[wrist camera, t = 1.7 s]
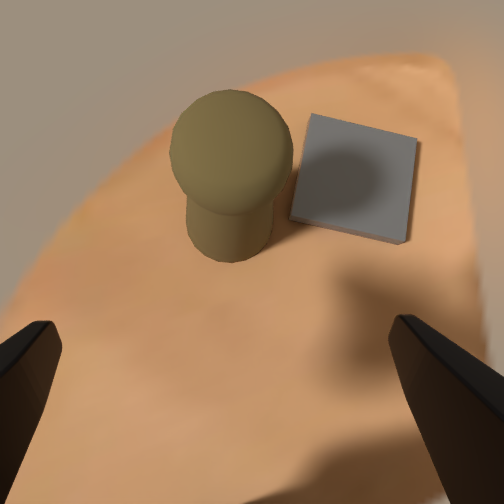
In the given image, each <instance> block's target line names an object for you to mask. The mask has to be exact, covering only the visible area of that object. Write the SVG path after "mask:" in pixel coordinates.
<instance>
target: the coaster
mask: <svg viewBox="0 0 504 504" xmlns="http://www.w3.org/2000/svg"><path fill="white" fill-rule="evenodd" d="M416 145H417V138H413V137H409V136H405V135H400V134H396V133H392V132H388V131H384V130H380V129H375V128H371V127H367V126H363V125H359V124H355V123H350V122H346V121H342V120H338V119H334V118H330V117H326V116H321V115H317V114H313V113H311V116H310V118H309V121H308V125H307V130H306V135H305V140H304V145H303V150H302V155H301V160H300V165H299V170H298V175H297V180H296V185H295V190H294V195H293V200H292V205H291V210H290V215H289V220H292V221H296V222H301V223H305V224H309V225H314V226H318V227H322V228H327V229H331V230H335V231H340V232H344V233H348V234H353V235H357V236H361V237H366V238H370V239H374V240H379V241H383V242H387V243H392V244H396V245H399V244H401V243H403V242H405V239H406V230H407V222H408V213H409V205H410V196H411V187H412V179H413V170H414V162H415V153H416Z"/></svg>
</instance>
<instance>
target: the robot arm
mask: <svg viewBox="0 0 504 504" xmlns="http://www.w3.org/2000/svg"><path fill="white" fill-rule="evenodd" d="M388 342H389V346H390V349H391V353H392V356H393V359H394V363H395V366H396V369H397V372H398V376H399V379H400V382H401V385H402V389H403V392H404V394H405V397H406V400H407V402H408V405H409V407H410V410H411V412H412V414H413V417H414V419H415V421H416V424H417V426H418V428H419V431H420V433H421V435H422V438H423V440H424V442H425V445H426V447H427V450H428V452H429V454H430V457H431V459H432V461H433V464H434V466H435V468H436V471H437V473H438V475H439V478H440V480H441V482H442V485H443V487H444V489H445V492H446V494H447V497H448V499H449V501H450V504H504V377H503V376H502V375H500V374H499V373H497V372H496V371H494V370H493V369H492V368H490V367H489V366H487V365H486V364H484V363H483V362H481V361H480V360H478V359H477V358H476V357H474V356H473V355H471V354H470V353H468V352H467V351H465V350H464V349H462V348H461V347H460V346H458V345H457V344H455V343H454V342H452V341H451V340H449V339H448V338H447V337H445V336H444V335H442V334H441V333H439V332H438V331H436V330H435V329H433V328H432V327H431V326H429V325H428V324H426V323H425V322H423V321H422V320H420V319H419V318H417V317H416V316H414V315H412V314H399V315H397V316H396V317H395V319H394V322H393V325H392V327H391V330H390V333H389V336H388ZM61 352H62V342H61V339H60V337H59V334H58V331H57V329H56V326H55V324H54V323H53V322H52V321H34V322H32V323H30V324H29V325H27V326H26V327H25V328H23V329H22V330H20V331H19V332H17V333H16V334H14V335H13V336H11V337H10V338H9V339H7V340H6V341H4V342H3V343H1V344H0V504H5V501H6V499H7V496H8V494H9V492H10V489H11V487H12V485H13V482H14V480H15V478H16V475H17V473H18V470H19V468H20V466H21V463H22V461H23V459H24V456H25V454H26V452H27V449H28V447H29V444H30V442H31V440H32V437H33V435H34V433H35V430H36V428H37V426H38V423H39V421H40V418H41V416H42V413H43V411H44V408H45V405H46V402H47V399H48V396H49V392H50V389H51V386H52V382H53V379H54V376H55V372H56V369H57V366H58V362H59V359H60V356H61Z"/></svg>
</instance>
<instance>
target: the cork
mask: <svg viewBox="0 0 504 504" xmlns="http://www.w3.org/2000/svg"><path fill="white" fill-rule="evenodd" d="M169 155H170V160H171V165H172V171H173V173H174V176H175V178H176V180H177V182H178V183H179V185H180V187H181V188H182V190H183V192H184V193H185V194H186V195H187V207H186V225H187V231H188V235H189V237H190V239H191V240H192V242H193V244H194V246H195V247H196V248H197V249H198V250H199V251H200V252H202V253H203V254H204V255H205V256H207V257H209V258H211V259H214V260H216V261H218V262H227V263H234V262H239V261H244V260H247V259H249V258H250V257H252V256H254V255H256V254H258V252H259V251H260V250H261V249H262V248H263V247H264V246H265V245H266V244H267V241H268V239H269V237H270V234H271V232H272V223H273V199H274V198H275V197H276V196H277V195H278V194H279V193H280V192H281V191H282V190H283V188H284V185H285V183H286V181H287V179H288V176H289V174H290V172H291V170H292V163H293V143H292V139H291V135H290V131H289V128H288V126H287V124H286V123H285V121H284V120H283V118H282V117H281V115H280V114H279V112H278V111H277V110H276V109H275V108H273V107H272V106H271V105H270V104H269V103H267V102H266V101H265V100H264V99H263V98H260V97H258V96H256V95H253V94H251V93H249V92H245V91H238V90H231V89H230V90H223V91H216V92H212V93H210V94H207V95H205V96H203V97H201V98H199V99H197V100H196V101H195V102H194V103H193V104H191V105H190V106H189V107H188V108H187V109H186V110H185V111H184V112H183V113H182V114H181V115H180V117H179V119H178V121H177V123H176V124H175V126H174V128H173V133H172V139H171V145H170V151H169Z"/></svg>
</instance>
